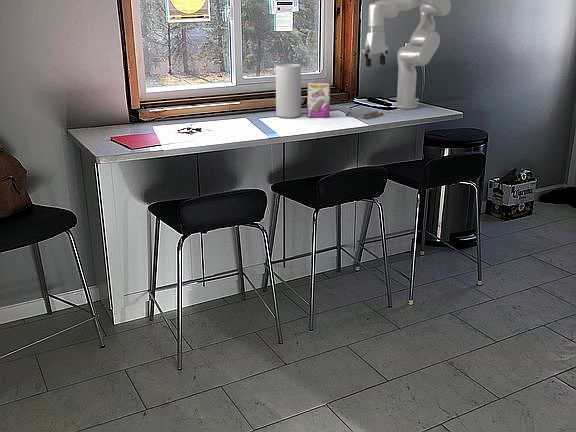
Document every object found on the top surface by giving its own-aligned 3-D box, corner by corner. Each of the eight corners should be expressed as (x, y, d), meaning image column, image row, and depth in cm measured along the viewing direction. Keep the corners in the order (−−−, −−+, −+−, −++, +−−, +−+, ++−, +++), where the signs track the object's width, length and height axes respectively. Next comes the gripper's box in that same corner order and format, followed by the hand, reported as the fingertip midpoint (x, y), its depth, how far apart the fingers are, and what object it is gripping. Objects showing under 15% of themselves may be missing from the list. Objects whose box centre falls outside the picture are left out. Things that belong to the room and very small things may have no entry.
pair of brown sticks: (362, 112, 327) (362, 109, 327) (383, 115, 319) (383, 112, 318) (345, 116, 318) (345, 113, 317) (366, 119, 309) (366, 116, 309)
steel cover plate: (362, 114, 325) (362, 108, 324) (378, 116, 319) (378, 110, 318) (347, 117, 317) (347, 111, 316) (363, 120, 311) (363, 113, 310)
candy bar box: (306, 117, 314) (307, 84, 309) (307, 115, 319) (307, 83, 313) (329, 118, 313) (329, 84, 308) (329, 116, 318) (330, 83, 312)
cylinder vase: (300, 113, 325) (300, 63, 317) (301, 118, 313) (301, 66, 305) (276, 113, 325) (275, 64, 317) (276, 118, 313) (275, 66, 305)
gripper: (383, 28, 316) (382, 63, 322) (357, 30, 306) (357, 66, 313) (394, 28, 310) (393, 64, 316) (368, 31, 301) (367, 68, 307)
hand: (375, 65), depth 314 cm, fingers open, 9 cm apart
